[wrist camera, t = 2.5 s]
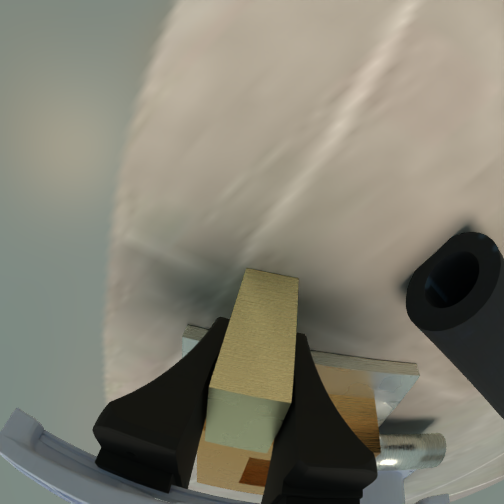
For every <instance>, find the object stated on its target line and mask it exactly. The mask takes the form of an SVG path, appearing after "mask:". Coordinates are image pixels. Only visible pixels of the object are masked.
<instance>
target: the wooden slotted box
mask: <svg viewBox="0 0 504 504" xmlns="http://www.w3.org/2000/svg"><path fill="white" fill-rule="evenodd" d="M208 331H209V330H206V329H202V328H198V327H194V326H190V325H187V328H186V330H185V332H184V334H183V336H182V358H183V357H184V356H185V355H186V354H187V353H188V352H189V351H191V350H192V349H193V348H194V347H195V345H196V344H197V343H198V342H199V341H200V340H201V339H202V338H203V337H204V335H205V334H206V333H207V332H208ZM310 352H311V355H312V358H313V361H314V363H315V366H316V369H317V371H318V374H319V376H320V378H321V381H322V383H323V385H324V387H325V389H326V391H327V393H328V395H329V397H330V399H331V400H332V402H333V404H334V405H335V407H336V409H337V410H338V412H339V413H340V415H341V416H342V418H343V419H344V420H345V422H346V423H347V424H348V426H349V427H350V428H351V430H352V431H353V432H354V433H355V435H356V436H357V437H358V438H359V439H360V440H361V441H362V442H363V443H364V444H365V445H366V446H367V447H368V448H369V449H370V450H371V451H372V452H373V453H374V455H375V459H376V464H377V471H397V470H411V469H423V468H432V467H436V466H438V465H439V464H440V463H441V462H442V460H443V458H444V456H445V452H446V441H445V438H444V436H443V435H442V434H440V433H431V434H379V428H378V427H379V426H380V425H381V424H382V423H383V422H384V420H385V419H386V418H387V417H388V416H389V415H390V413H391V412H392V411H393V410H394V409H395V407H396V406H397V405H398V404H399V402H400V401H401V400H402V399H403V397H404V396H405V395H406V394H407V392H408V391H409V390H410V388H411V387H412V386H413V385H414V383H415V382H416V381H417V379H418V378H419V376H420V374H419V371H418V368H417V364H411V363H401V362H391V361H382V360H373V359H365V358H358V357H350V356H343V355H336V354H329V353H323V352H317V351H310ZM205 431H206V420H205V424H204V427H203V431H202V435H201V438H200V442H199V446H198V450H197V482H199V483H203V484H207V485H211V486H216V487H220V488H225V489H230V490H236V491H241V492H247V493H253V494H260V495H263V493H264V489H265V485H266V480H267V475H268V470H269V465H270V460H271V454H272V449H273V443H274V440H273V442H272V444H271V446H270V448H269V450H268V452H267V453H261V452H255V451H249V450H244V449H239V448H234V447H229V446H224V445H220V444H215V443H211V442H207V441H205Z"/></svg>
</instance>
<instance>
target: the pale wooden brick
mask: <svg viewBox="0 0 504 504" xmlns="http://www.w3.org/2000/svg"><path fill="white" fill-rule="evenodd" d="M298 280H299V279H298V278H293V277H288V276H283V275H278V274H273V273H268V272H263V271H259V270H254V269H249V268H246V271H245V274H244V277H243V280H242V283H241V287H240V290H239V293H238V296H237V299H236V302H235V306H234V309H233V312H232V315H231V318H230V321H229V325H228V328H227V331H226V334H225V337H224V340H223V344H222V347H221V350H220V353H219V356H218V360H217V363H216V366H215V369H214V372H213V375H212V379H211V382H210V385H209V392H208V404H207V417H206V431H205V441H207V442H211V443H215V444H220V445H224V446H229V447H234V448H239V449H244V450H249V451H255V452H261V453H267V452H268V450H269V448H270V446H271V444H272V442H273V440H274V438H275V436H276V434H277V432H278V430H279V428H280V426H281V424H282V422H283V420H284V418H285V416H286V414H287V411H288V409H289V407H290V405H291V402H292V389H293V375H294V361H295V344H296V326H297V305H298Z"/></svg>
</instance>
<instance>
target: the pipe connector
mask: <svg viewBox="0 0 504 504" xmlns="http://www.w3.org/2000/svg"><path fill="white" fill-rule="evenodd" d="M406 309H407V313H408V316H409V318H410V319H411V321H412V322H413V323H414V324H415V325H416V326H417V327H418V328H419V329H420V330H421V331H422V332H423V333H424V334H425V335H426V336H427V337H428V338H429V339H430V340H431V341H432V342H433V343H434V344H435V345H436V346H437V347H438V348H439V349H440V350H441V351H442V352H443V354H444V355H445V356H446V357H447V358H448V359H449V360H450V361H451V362H452V363H453V364H454V365H455V366H456V367H457V368H458V369H459V370H460V371H461V372H462V374H463V375H464V376H465V377H466V378H467V379H468V380H469V381H470V382H471V383H472V384H473V385H474V387H475V388H476V389H477V390H478V391H479V392H480V393H481V394H482V395H483V397H484V398H485V399H486V400H487V401H488V402H489V403H490V404H491V406H492V407H493V408H494V409H495V410H496V411H497V412H498V414H499V415H500V416H501V417H502V418H503V419H504V258H503V256H502V254H501V253H500V251H499V249H498V247H497V246H496V244H495V243H494V241H493V240H492V239H491V238H489V237H488V236H487V235H484V234H481V233H476V232H468V233H462V234H459V235H456V236H454V237H452V238H450V239H449V240H448V241H447V242H446V243H445V244H444V245H443V246H442V247H441V248H440V249H439V250H438V251H436V252H435V253H434V254H433V255H432V256H431V257H430V258H429V259H428V260H427V261H425V262H424V263H423V264H422V265H421V266H420V267H419V268H418V269H417V270H416V271H415V273H414V275H413V277H412V279H411V281H410V284H409V287H408V290H407V296H406Z"/></svg>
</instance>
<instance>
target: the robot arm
mask: <svg viewBox="0 0 504 504" xmlns="http://www.w3.org/2000/svg"><path fill="white" fill-rule="evenodd" d="M229 321H230V319H227V318H222V317H219V318H217V319H216V321H215V322H214V324H213V325H212V327H211V328H210V329H209V331H208V332H207V333H206V334H205V335H204V337H203V338H202V339H201V340H200V341H199V342H198V343H197V344H196V345H195V347H194V348H193V349H192V350H191V351H189V352H188V353H187V354H186V355H185V356H184V357H183V358H182V359H181V360H180V361H179V362H178V363H176V364H175V365H174V366H173V367H171V368H170V369H169V370H168V371H166V372H165V373H163V374H162V375H161V376H159V377H158V378H156V379H155V380H153V381H152V382H150V383H148V384H147V385H145V386H143V387H141V388H139V389H137V390H136V391H134V392H132V393H130V394H128V395H125V396H123V397H121V398H118V399H116V400H114V401H111V402H109V404H108V405H107V406H106V407H105V409H104V410H103V411H102V413H101V414H100V416H99V417H98V419H97V421H96V423H95V425H94V427H93V433H94V435H95V437H96V439H97V441H98V442H99V444H100V445H101V450H100V452H99V454H98V456H97V457H96V456H94V455H92V454H90V453H87V452H86V451H83V450H81V449H79V448H77V447H75V446H73V445H71V444H69V443H68V442H66V441H64V440H62V439H60V438H58V437H56V436H54V435H53V434H51V433H49V432H48V431H46V430H44V428H43V426H42V425H41V424H40V423H39V422H38V421H37V420H36V419H35V418H33V417H32V416H30V415H28V414H27V413H25V412H24V411H22V410H21V409H19V408H16V409H15V410H14V412H13V413H12V415H11V416H10V418H9V419H8V421H7V422H6V424H5V425H4V427H3V428H2V430H1V432H0V455H1V456H2V457H3V458H5V459H6V460H7V461H8V462H9V463H10V464H11V465H13V466H14V467H15V468H16V469H17V470H19V471H20V472H22V473H23V474H24V475H26V476H27V477H29V478H31V479H32V480H33V481H35V482H37V483H38V484H39V485H41V486H43V487H44V488H46V489H47V490H49V491H51V492H52V493H54V494H56V495H57V496H59V497H61V498H63V499H64V500H66V501H68V502H70V503H71V504H258V503H251V502H245V501H239V500H233V499H228V498H223V497H218V496H213V495H209V494H205V493H201V492H196V491H193V490H189V489H188V485H189V481H190V477H191V473H192V469H193V465H194V461H195V457H196V454H197V450H198V446H199V442H200V438H201V435H202V431H203V427H204V424H205V420H206V417H207V404H208V392H209V385H210V382H211V379H212V375H213V372H214V369H215V366H216V363H217V360H218V356H219V353H220V350H221V347H222V344H223V340H224V337H225V334H226V331H227V328H228V325H229ZM415 470H417V469H411V470H397V471H377V464H376V459H375V455H374V453H373V452H372V451H371V450H370V449H369V448H368V447H367V446H366V445H365V444H364V443H363V442H362V441H361V440H360V439H359V438H358V437H357V436H356V435H355V433H354V432H353V431H352V430H351V428H350V427H349V426H348V424H347V423H346V422H345V420H344V419H343V418H342V416H341V415H340V413H339V412H338V410H337V409H336V407H335V405H334V404H333V402H332V400H331V399H330V397H329V395H328V393H327V391H326V389H325V387H324V385H323V383H322V381H321V378H320V376H319V374H318V371H317V369H316V366H315V363H314V361H313V358H312V355H311V352H310V349H309V345H308V342H307V337H306V335H305V334H302V333H296V344H295V361H294V375H293V389H292V402H291V405H290V407H289V409H288V411H287V414H286V416H285V418H284V420H283V422H282V424H281V426H280V428H279V430H278V432H277V434H276V436H275V438H274V443H273V449H272V454H271V460H270V465H269V470H268V475H267V480H266V485H265V489H264V493H263V498H262V502H261V504H405V494H404V482H403V479H404V478H406V477H407V476H409V475H410V474H411V473H413V472H414V471H415ZM155 498H158V499H160V500H157V499H155ZM161 500H164V501H161ZM165 501H167V502H165ZM169 502H170V503H169ZM416 504H450V502H449V494H442V495H437V496H431V497H427V498H424V499H422V500H420V501H418V502H416Z"/></svg>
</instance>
